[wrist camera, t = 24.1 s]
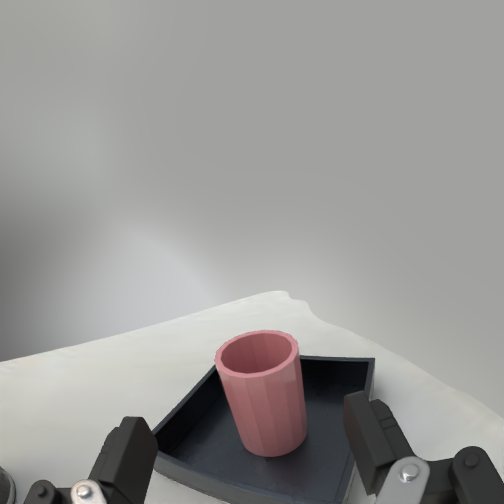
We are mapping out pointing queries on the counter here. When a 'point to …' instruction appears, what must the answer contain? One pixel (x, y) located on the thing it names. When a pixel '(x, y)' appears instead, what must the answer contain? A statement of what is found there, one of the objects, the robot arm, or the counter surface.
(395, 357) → the counter surface
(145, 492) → the robot arm
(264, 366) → the cup
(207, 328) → the counter surface
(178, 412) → the dark grey storage tray
